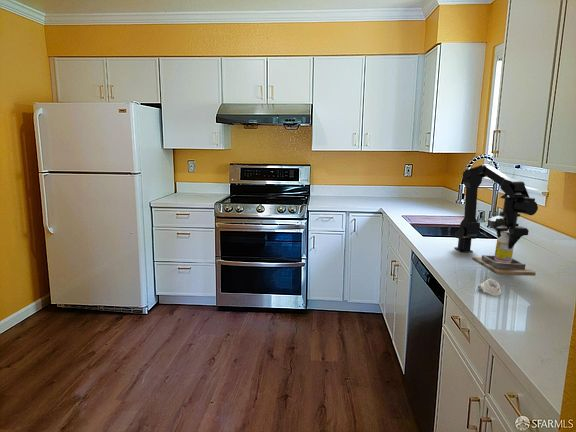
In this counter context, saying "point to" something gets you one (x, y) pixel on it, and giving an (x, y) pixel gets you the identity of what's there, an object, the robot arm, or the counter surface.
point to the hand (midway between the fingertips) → (504, 246)
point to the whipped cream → (490, 287)
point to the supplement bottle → (503, 249)
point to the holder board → (503, 266)
